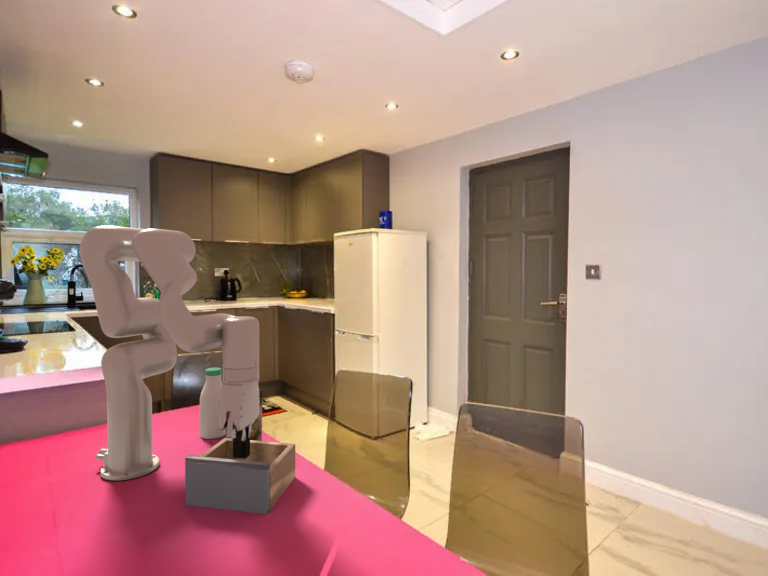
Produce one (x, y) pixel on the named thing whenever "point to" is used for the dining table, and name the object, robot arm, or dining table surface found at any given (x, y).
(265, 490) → the panel
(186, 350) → the robot arm
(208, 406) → the milk bottle
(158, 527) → the dining table surface
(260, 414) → the coffee box
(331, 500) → the dining table surface
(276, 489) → the crate
